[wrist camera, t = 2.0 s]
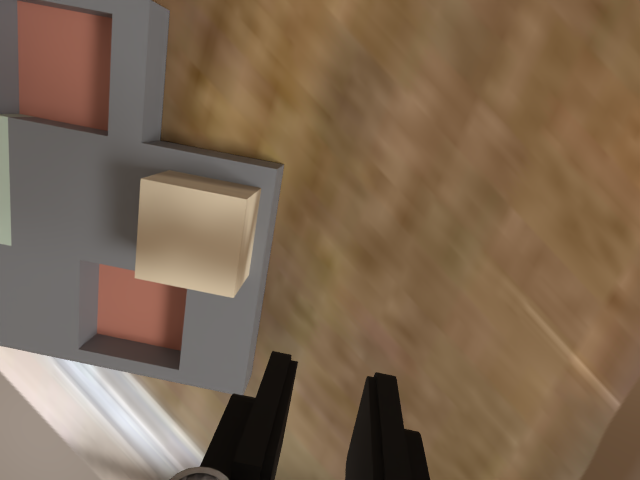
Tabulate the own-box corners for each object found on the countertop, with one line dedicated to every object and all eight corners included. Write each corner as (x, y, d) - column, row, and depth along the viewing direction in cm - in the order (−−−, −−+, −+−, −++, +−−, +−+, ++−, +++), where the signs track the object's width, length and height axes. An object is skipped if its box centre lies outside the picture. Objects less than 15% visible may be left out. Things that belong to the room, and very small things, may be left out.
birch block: (169, 170, 25) (140, 178, 22) (261, 188, 25) (246, 199, 22) (162, 257, 27) (134, 278, 23) (248, 275, 27) (233, 298, 23)
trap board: (-78, -36, 26) (-165, -66, 21) (304, 35, 25) (293, 19, 21) (-51, 312, 32) (-114, 342, 28) (251, 374, 32) (234, 416, 27)
